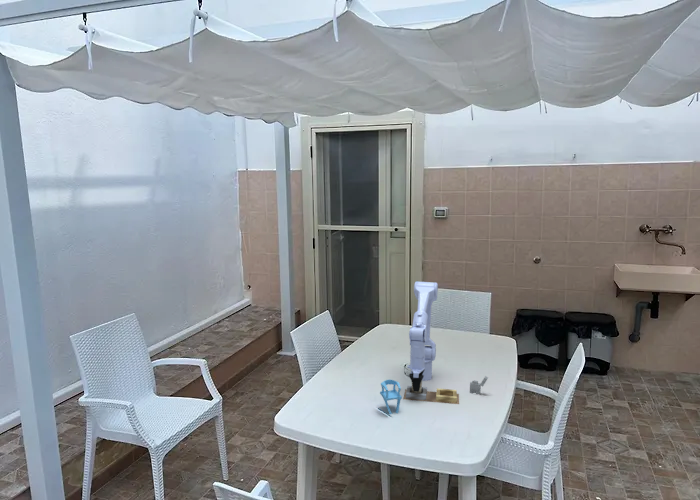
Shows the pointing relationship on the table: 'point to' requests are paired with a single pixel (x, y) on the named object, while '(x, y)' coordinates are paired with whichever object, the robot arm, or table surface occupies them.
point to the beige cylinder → (419, 389)
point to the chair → (390, 394)
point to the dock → (433, 395)
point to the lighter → (477, 386)
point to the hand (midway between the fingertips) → (416, 388)
